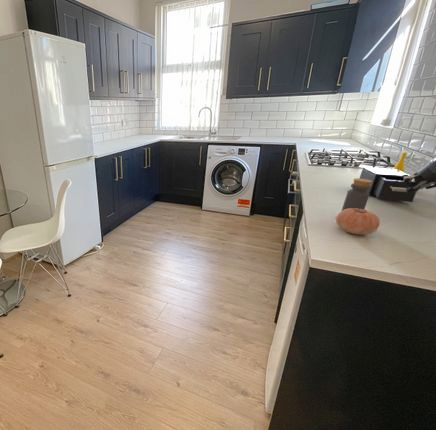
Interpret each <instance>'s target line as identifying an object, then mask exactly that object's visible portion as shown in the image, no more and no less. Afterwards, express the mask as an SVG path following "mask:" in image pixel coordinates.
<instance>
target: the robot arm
mask: <svg viewBox="0 0 436 430" xmlns="http://www.w3.org/2000/svg"><path fill="white" fill-rule="evenodd" d="M407 174H408V173H406V174H405V175H403V177H404V182H405V184H406V185H407V188H406V189H407V193H414V192H416V193H417V192H418V191H419V190H423V189H426V190H430V189H435V188H436V156H435V157H433V158H432V159H430V160H429V161H428V162H427V163H425V164H424V165H423V166H422V167H421V168H420V170H419V171H416V172H415V173H413V174H410V175H411V176H408V175H407ZM411 180H412V181H413V182H412V181H411Z"/></svg>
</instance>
